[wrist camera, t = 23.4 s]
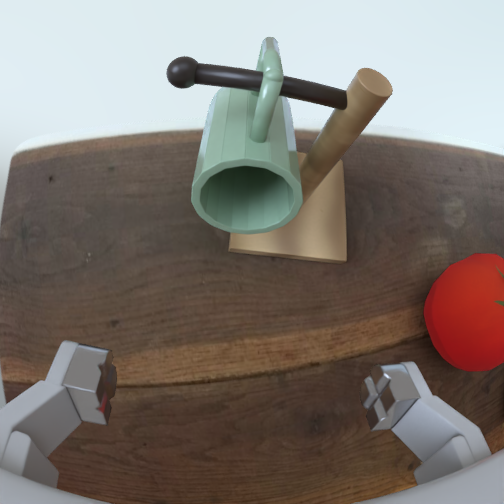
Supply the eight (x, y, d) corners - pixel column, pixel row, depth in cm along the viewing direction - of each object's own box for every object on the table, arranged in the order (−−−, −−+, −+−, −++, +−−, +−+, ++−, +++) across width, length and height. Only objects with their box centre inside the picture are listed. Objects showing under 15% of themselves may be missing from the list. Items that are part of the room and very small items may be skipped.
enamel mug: (279, 149, 25) (286, 239, 20) (205, 138, 24) (189, 228, 19) (315, 37, 17) (347, 102, 12) (222, 20, 16) (202, 75, 11)
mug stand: (338, 166, 30) (427, 56, 15) (341, 264, 28) (471, 190, 13) (184, 142, 28) (188, -6, 13) (167, 245, 26) (135, 123, 10)
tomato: (475, 374, 27) (545, 374, 18) (395, 364, 26) (474, 367, 16) (484, 281, 31) (549, 261, 21) (410, 252, 29) (481, 218, 20)
